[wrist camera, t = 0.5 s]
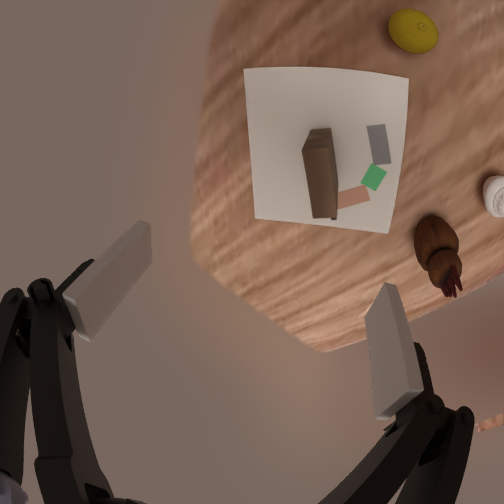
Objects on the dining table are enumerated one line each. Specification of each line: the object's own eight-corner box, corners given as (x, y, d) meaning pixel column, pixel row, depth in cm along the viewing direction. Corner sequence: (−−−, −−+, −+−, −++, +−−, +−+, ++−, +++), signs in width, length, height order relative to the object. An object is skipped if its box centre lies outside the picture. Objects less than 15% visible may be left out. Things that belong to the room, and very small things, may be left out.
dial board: (405, 78, 24) (408, 78, 22) (386, 228, 37) (388, 234, 36) (246, 68, 29) (243, 68, 28) (257, 213, 42) (255, 218, 41)
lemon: (400, 61, 23) (418, 59, 17) (374, 24, 21) (384, 11, 15) (433, 47, 19) (458, 43, 13) (408, 10, 17) (426, -4, 12)
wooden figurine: (427, 202, 32) (459, 272, 21) (454, 220, 32) (487, 291, 21) (403, 237, 37) (420, 312, 26) (430, 252, 37) (450, 326, 26)
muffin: (487, 212, 29) (505, 238, 24) (468, 185, 28) (487, 209, 23) (510, 187, 25) (532, 210, 20) (493, 158, 24) (517, 178, 19)
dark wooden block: (331, 125, 29) (328, 147, 22) (342, 217, 37) (340, 265, 29) (311, 127, 30) (301, 150, 22) (325, 218, 37) (318, 266, 30)
